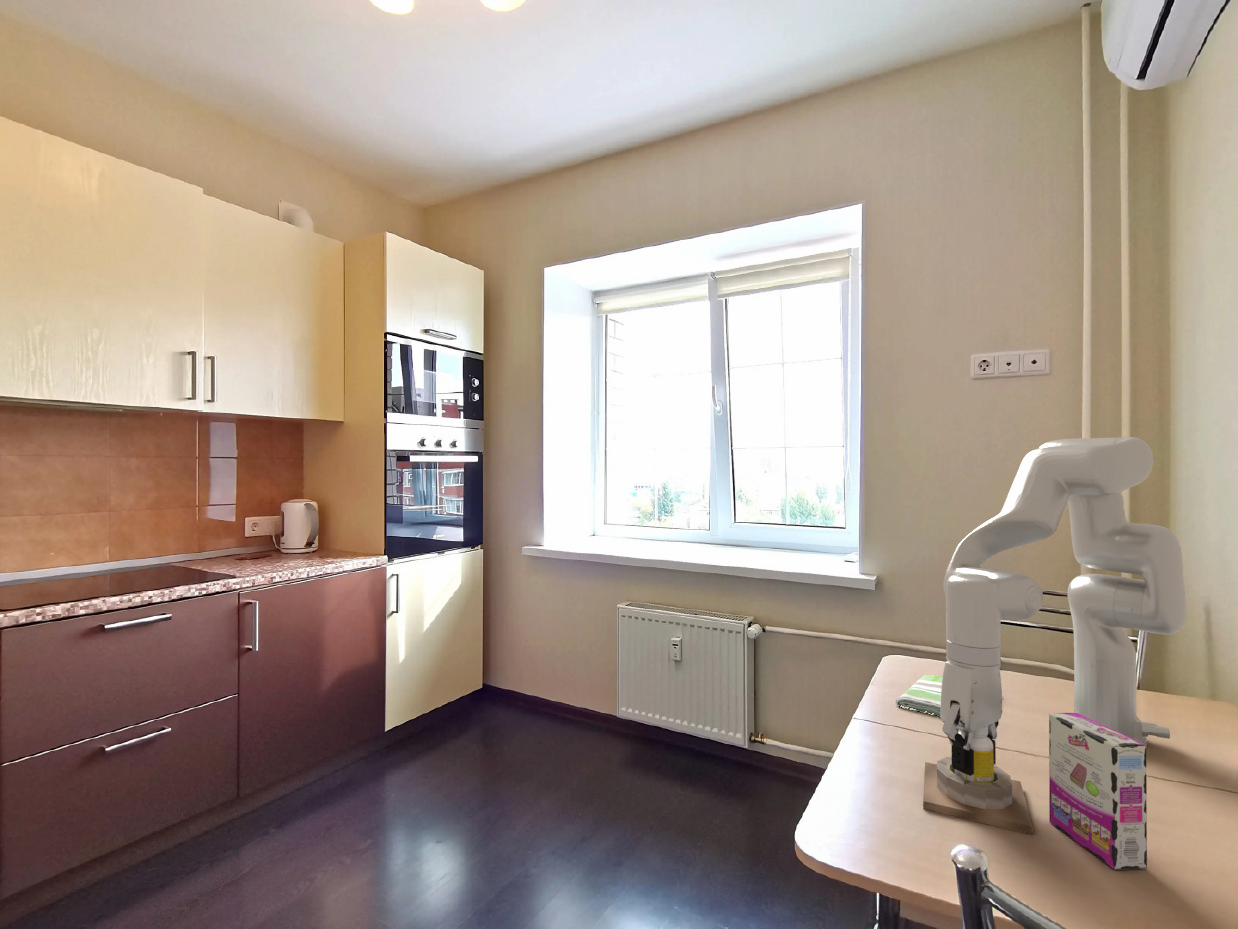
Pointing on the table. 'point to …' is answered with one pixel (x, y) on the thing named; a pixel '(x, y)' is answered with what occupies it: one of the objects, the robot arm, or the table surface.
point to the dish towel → (923, 695)
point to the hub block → (976, 797)
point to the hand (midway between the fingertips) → (973, 765)
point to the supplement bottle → (980, 757)
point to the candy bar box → (1098, 789)
